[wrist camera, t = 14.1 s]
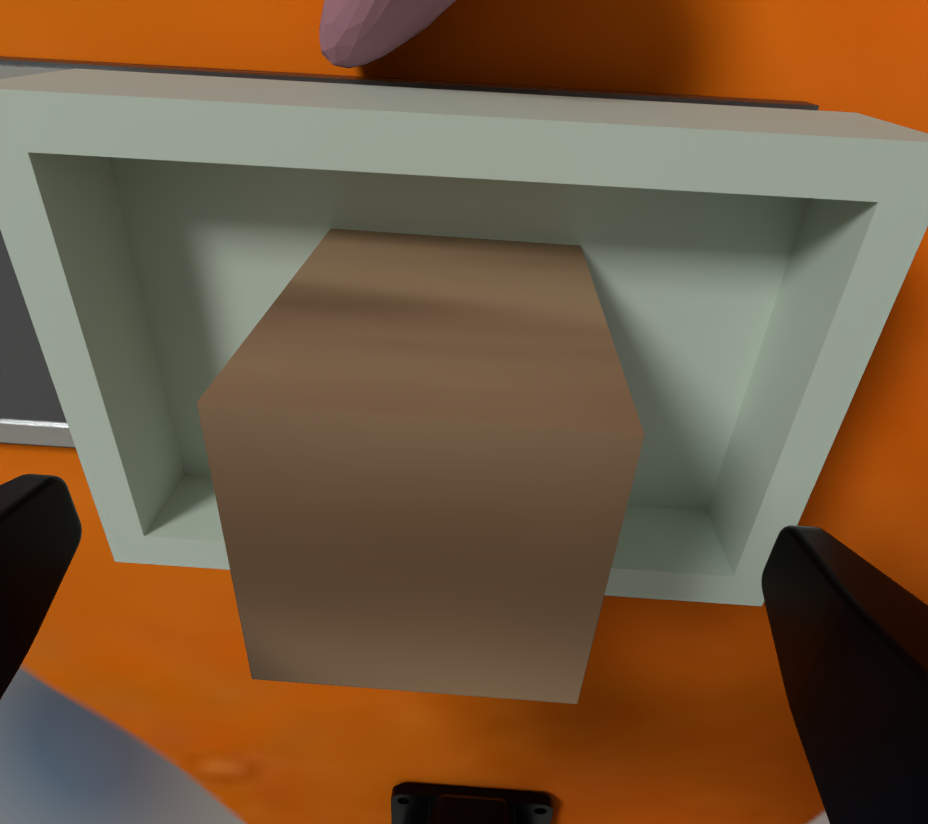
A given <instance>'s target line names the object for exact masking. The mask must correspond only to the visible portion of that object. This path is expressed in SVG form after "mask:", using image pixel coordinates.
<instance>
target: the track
mask: <svg viewBox="0 0 928 824" xmlns="http://www.w3.org/2000/svg"><path fill="white" fill-rule="evenodd" d="M69 69H91V70H108V71H126V72H144V73H161V74H179V75H197V76H215V77H232V78H250V79H268V80H285V81H303V82H321V83H339V84H356V85H374V86H392V87H409V88H427V89H445V90H462V91H480V92H498V93H516V94H533V95H551V96H569V97H586V98H604V99H622V100H640V101H657V102H675V103H693V104H710V105H728V106H746V107H764V108H781V109H799V110H817V111H818V107H819V106H818V105H815V104H812V103H808V102H803V101H785V100H767V99H749V98H732V97H714V96H696V95H678V94H660V93H643V92H625V91H607V90H589V89H572V88H554V87H536V86H518V85H500V84H483V83H465V82H447V81H429V80H412V79H394V78H376V77H358V76H340V75H323V74H305V73H287V72H269V71H252V70H234V69H216V68H198V67H181V66H163V65H145V64H127V63H109V62H92V61H74V60H56V59H38V58H21V57H3V56H0V79H6V78H13V77H20V76H27V75H34V74H41V73H48V72H55V71H62V70H69ZM0 443H10V444H25V445H40V446H56V447H71V448H76V447H75V444H74V442H73V439H72V436H71V433H70V430H69V427H68V424H67V421H66V418H65V415H64V413H63V410H62V407H61V404H60V401H59V398H58V395H57V392H56V389H55V387H54V384H53V381H52V378H51V375H50V372H49V369H48V366H47V363H46V360H45V358H44V355H43V352H42V349H41V346H40V343H39V340H38V337H37V334H36V332H35V329H34V326H33V323H32V320H31V317H30V314H29V311H28V308H27V306H26V303H25V300H24V297H23V294H22V291H21V288H20V285H19V282H18V279H17V277H16V274H15V271H14V268H13V265H12V262H11V259H10V256H9V253H8V251H7V248H6V245H5V242H4V239H3V236H2V233H1V230H0Z"/></svg>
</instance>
